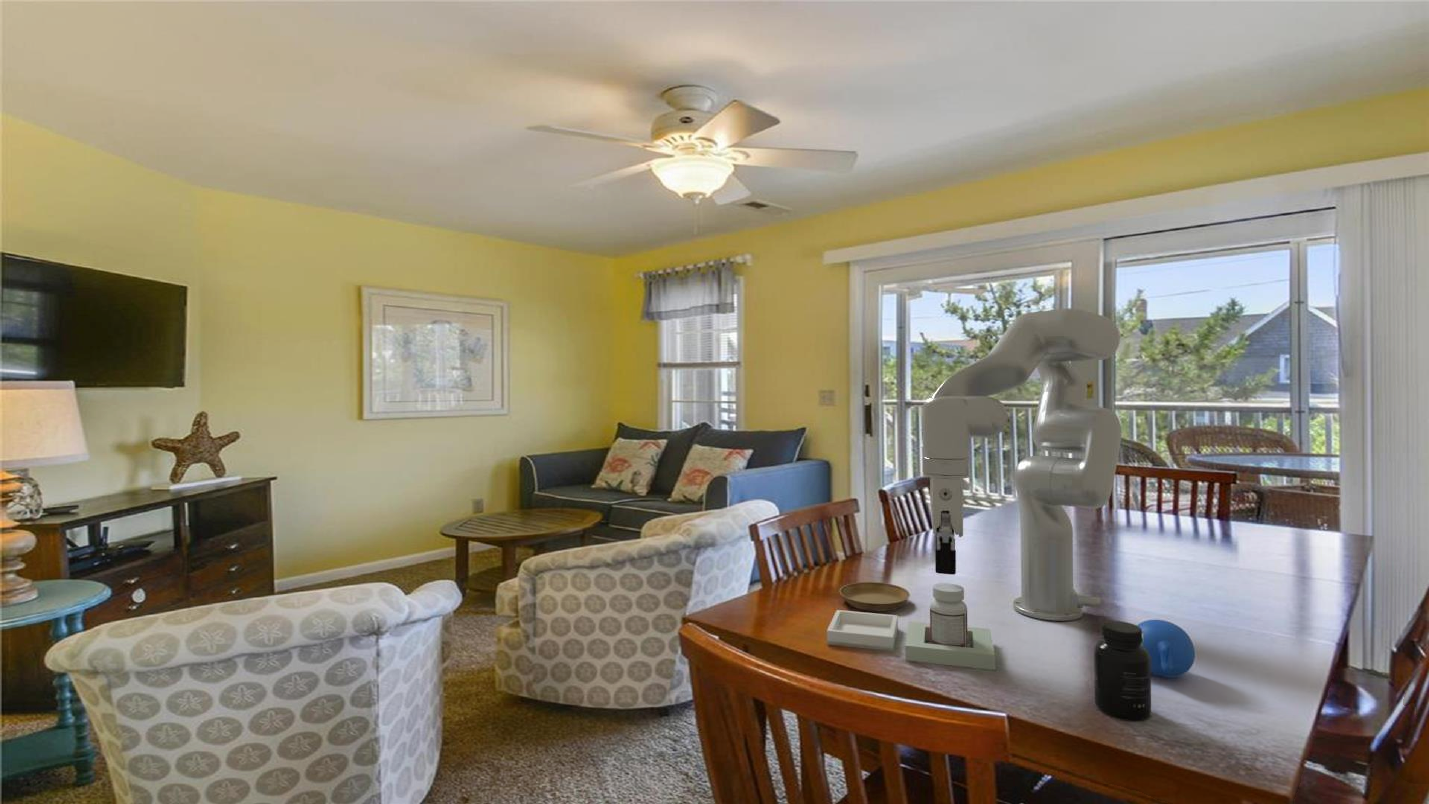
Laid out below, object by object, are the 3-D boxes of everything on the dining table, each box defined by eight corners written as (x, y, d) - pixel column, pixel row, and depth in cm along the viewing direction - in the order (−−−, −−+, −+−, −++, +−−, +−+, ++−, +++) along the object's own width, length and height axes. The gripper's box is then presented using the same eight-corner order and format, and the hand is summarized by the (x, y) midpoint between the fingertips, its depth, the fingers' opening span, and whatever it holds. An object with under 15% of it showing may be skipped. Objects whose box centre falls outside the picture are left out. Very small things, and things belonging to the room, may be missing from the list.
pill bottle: (942, 641, 118) (941, 579, 118) (974, 651, 114) (973, 587, 114) (923, 651, 115) (922, 586, 114) (955, 661, 110) (954, 594, 110)
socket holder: (990, 642, 118) (989, 629, 117) (994, 670, 106) (994, 655, 106) (909, 634, 122) (908, 621, 122) (905, 660, 111) (905, 645, 111)
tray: (897, 628, 126) (897, 615, 125) (893, 651, 115) (893, 637, 115) (837, 622, 129) (836, 609, 129) (827, 644, 118) (826, 630, 118)
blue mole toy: (1099, 653, 112) (1099, 604, 112) (1183, 663, 107) (1182, 612, 107) (1112, 682, 101) (1111, 628, 101) (1205, 695, 96) (1205, 638, 96)
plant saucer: (920, 614, 134) (920, 601, 134) (850, 617, 133) (850, 604, 133) (896, 592, 149) (895, 580, 149) (832, 594, 148) (832, 583, 148)
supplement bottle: (1083, 700, 96) (1082, 618, 95) (1127, 697, 96) (1127, 616, 96) (1116, 724, 89) (1115, 636, 88) (1163, 721, 89) (1163, 633, 89)
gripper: (970, 474, 104) (970, 581, 104) (967, 464, 120) (967, 557, 120) (921, 472, 107) (921, 577, 107) (924, 462, 123) (924, 553, 123)
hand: (945, 566), depth 114 cm, fingers open, 9 cm apart
